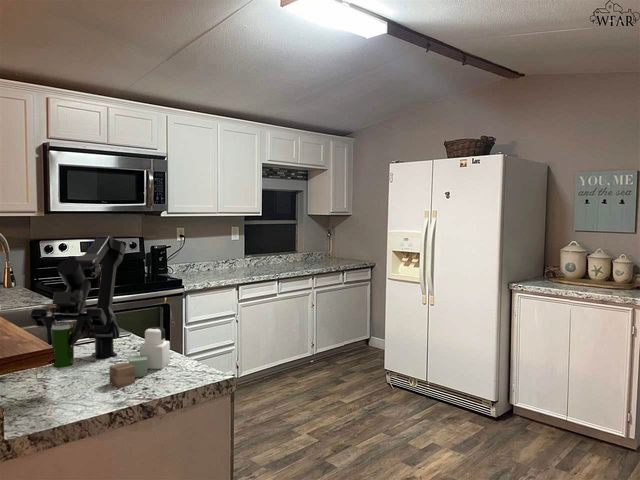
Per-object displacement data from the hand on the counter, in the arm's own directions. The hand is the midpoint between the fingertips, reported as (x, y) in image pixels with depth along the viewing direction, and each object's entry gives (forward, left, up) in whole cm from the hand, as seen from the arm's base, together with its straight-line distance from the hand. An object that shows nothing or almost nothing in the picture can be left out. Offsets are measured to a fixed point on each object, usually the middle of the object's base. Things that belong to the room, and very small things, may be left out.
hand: (60, 344), depth 133 cm
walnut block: (+1, +15, -13) cm, 20 cm away
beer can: (-1, +1, -7) cm, 7 cm away
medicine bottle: (-9, +28, -13) cm, 33 cm away
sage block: (-4, +21, -13) cm, 26 cm away
